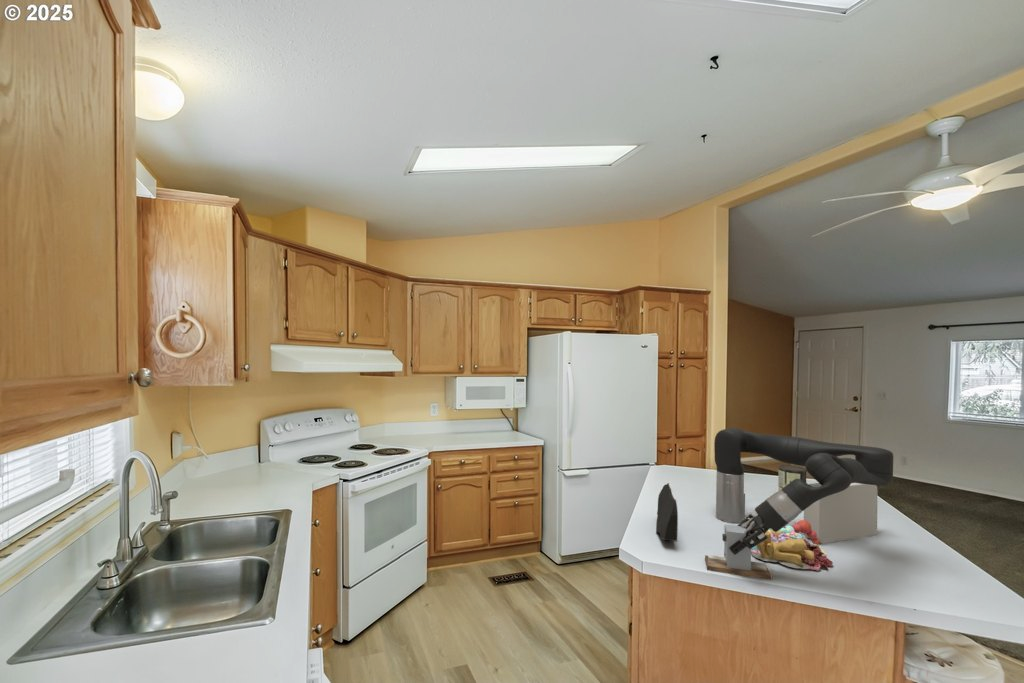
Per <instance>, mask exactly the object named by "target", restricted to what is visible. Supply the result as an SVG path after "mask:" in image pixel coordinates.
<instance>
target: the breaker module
mask: <svg viewBox="0 0 1024 683" xmlns="http://www.w3.org/2000/svg"><path fill="white" fill-rule="evenodd" d="M745 530H746V527H745V528H743V527H741V526H738V525H732V524H724V530H723V531H724V532H723V533H722V536H721V537H722V541H723V542H724V550H723V552H724V556H723V557H725V558H726V561H727V568H734V569H741V570H748V571H751V561H752V553H751V549H749V548H746V547H745V548H744V549H743V550H741V551H740V552H739V553H737V554H736V555H735V554H733V553H732V552H731V551H730V549H729V547H730V546H732V545H733V544H734V543H736V542H737V541H738V540H740V538H741V537H743V536H744V535H745V533H744V531H745ZM749 534H750V533H749ZM750 535H751V534H750ZM746 538H747V537H746ZM749 541H750V540H749Z"/></svg>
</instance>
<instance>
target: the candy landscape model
mask: <svg viewBox="0 0 1024 683" xmlns="http://www.w3.org/2000/svg"><path fill="white" fill-rule="evenodd" d="M811 529H812V528H811V525H810V523H809V522H807V521H806V520H804V519H800V520H798V521H797V522H796V523H794V524H792V525H788V524H787V525H785V526H784V527H783V528H781V529H780V530H779V531H777V532H774V531H773V530H772V529H769V530H768V531H767V532H766V533H765V535H766V536H767V537H768V538H767V539H766V540H764V541H762V542H761V543H759V544H758V545H756V546H754V547H753V548H751V556H753V557H755V558H756V559H759V560H761V561H765V562H772V563H779V564H781V565H783V566H786V567H789V568H793V569H801V570H815V571H818V572H819V571H820V570H821V569H824V570H827V571H829V569H828V567H831V568H833V563H834V562H833V561H832V560H831V559H829V557H827V553H826V551H824V550H823V548H821V545H820V543H819V540H818V539H817V538H816V537H817V534H816V532H815V531H813V530H811ZM802 534H807V536H808V537H809V538H808V539H810V540H811V541H812V542H811V543H810V542H809V541H808V540H806V539H804V538H803V536H802ZM812 543H813V544H812Z"/></svg>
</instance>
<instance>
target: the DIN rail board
mask: <svg viewBox="0 0 1024 683" xmlns="http://www.w3.org/2000/svg"><path fill="white" fill-rule="evenodd" d="M704 561H705V562H704V563H705V565H706V570H707V571H711V572H719V573H725V574H731V575H738V576H744V577H751V578H757V579H763V580H769V581H772V574H771V572H770V570H769V567H768V566H767V564H766V563H765V562H758V561H752V560H751V571H748V570H741V569H734V568H727V561H726V558H725V557H724V556H718V555H711V554H708V555H707V554H706V555H704Z"/></svg>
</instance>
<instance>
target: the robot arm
mask: <svg viewBox="0 0 1024 683" xmlns="http://www.w3.org/2000/svg"><path fill="white" fill-rule="evenodd" d="M713 444H714V451H713V452H714V462H715V465H716V491H715V492H716V494H715V495H716V496H715V498H716V499H715V502H716V503H715V517H716V518H717V519H718V520H721V521H723V522H727V523H731V524H737V526H741V527H743V528H745V527H746V530H745V531H744V533H745V535H744V536H743V537H741V538H740V540H738V541H737V542H736V543H734V544H733V545H732V546H730V547H729V549H730V551H731V552H732V553H733V554H735V555H736V554H737V553H739V552H740V551H741V550H743V549H744V548H745V547H746V548H749V549H751V548H753V547H754V546H756V545H758V544H759V543H761V542H762V541H764V540H766V539H767V538H768V537H767V536H766V535H765V533H766V532H767V531H768V530H769V529H772V530H773V531H774V532H777V531H779V530H780V529H781V528H783V527H784V526H788V524H789V523H791V522H792V521H794V520H795V519H796V518H797V517H799V515H800V514H801V513H802V512H804V510H805V509H806V508H808V507H809V506H810V505H812V504H813V503H814V502H816V501H818V500H820V499H822V498H824V497H827V496H829V495H832V494H835V493H838V492H841V491H843V490H845V489H847V488H848V487H849V486H850V484H851V483H860V484H869V485H876V486H887V485H890V484H891V483H892V482H893V478H894V453H893V452H892V451H891V450H890V449H885V448H883V447H882V448H881V447H876V446H866V445H858V444H857V445H856V444H846V443H845V444H844V443H836V442H827V441H822V440H821V441H820V440H815V439H810V438H803V437H796V436H790V435H789V436H788V435H779V434H763V433H758V432H757V433H756V432H753V431H749V430H745V429H741V428H736V427H728V428H725V429H722V430H719V431H718V432H717V433H716V435H715V438H714V443H713ZM742 453H749V454H750V453H751V454H758V455H763V456H765V457H768V458H770V459H774V460H776V461H778V462H781V463H785V464H789V465H793V466H799V467H800V466H801V467H804V468H805V469H806V470H807V472H806V473H807V474H809V476H811V477H812V478H813V479H814V480H815V481H816V482H817V483H820V484H821V485H822V486H820V487H812V486H810V485H809V484H810V483H807V481H806V482H804V481H803V480H801V479H794V480H793V481H791V482H790V483H789V484H788V485H786V486H785V487H784V488H782V489H781V490H780V491H778V490H777V491H776V492H774V493H772V495H770V496H769V497H767V498H766V499H765V500H764V501H763V502H761V503H760V504H759V505H757V506H756V507H754V511H755V513H756V515H755V516H754V515H752V514H748V516H746V494H745V490H744V489H745V466H744V465H743V464H742V461H741V460H742V459H741V457H742V456H741V454H742ZM849 455H850V456H854V458H851V457H841V456H849ZM749 533H750V534H751V535H750V534H749ZM746 537H747V538H746ZM749 540H750V541H749Z"/></svg>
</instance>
